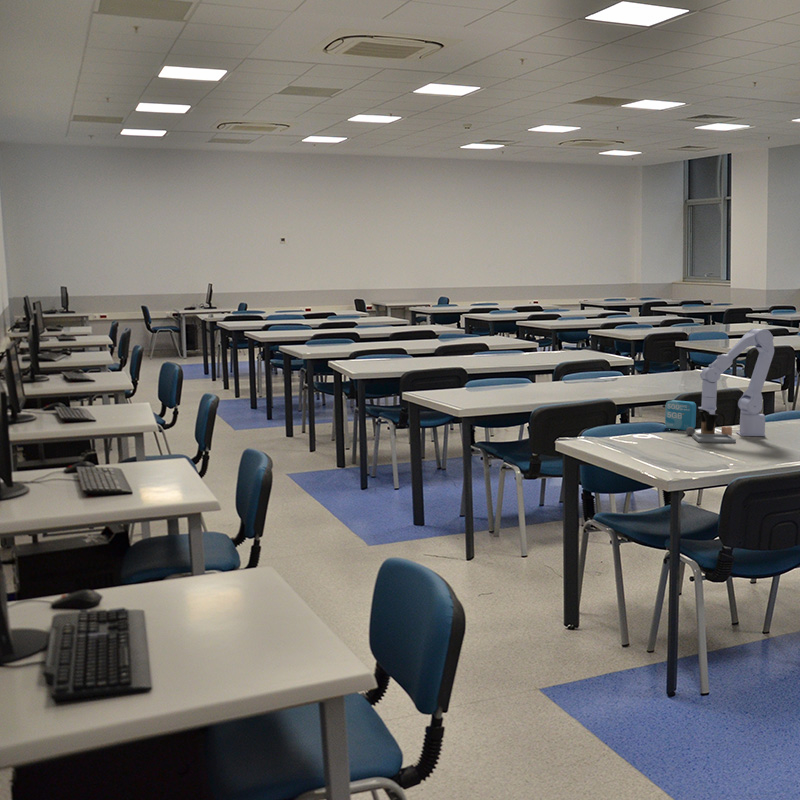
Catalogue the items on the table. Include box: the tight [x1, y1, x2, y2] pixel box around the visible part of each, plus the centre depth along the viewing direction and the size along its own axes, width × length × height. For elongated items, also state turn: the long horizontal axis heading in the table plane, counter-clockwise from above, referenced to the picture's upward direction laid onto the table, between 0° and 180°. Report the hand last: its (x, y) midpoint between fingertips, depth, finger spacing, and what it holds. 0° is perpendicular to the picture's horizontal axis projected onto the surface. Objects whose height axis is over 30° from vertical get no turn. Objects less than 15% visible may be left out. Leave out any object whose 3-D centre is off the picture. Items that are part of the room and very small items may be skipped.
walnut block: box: [700, 421, 716, 434], centre depth 344 cm, size 4×4×6 cm
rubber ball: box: [685, 427, 696, 436], centre depth 346 cm, size 4×4×4 cm
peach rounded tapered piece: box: [720, 425, 733, 437], centre depth 342 cm, size 4×4×4 cm
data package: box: [664, 399, 697, 431], centre depth 362 cm, size 12×4×12 cm, turn 46°
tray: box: [692, 433, 737, 444], centre depth 334 cm, size 14×12×2 cm
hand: (707, 429), depth 344 cm, fingers open, 7 cm apart
